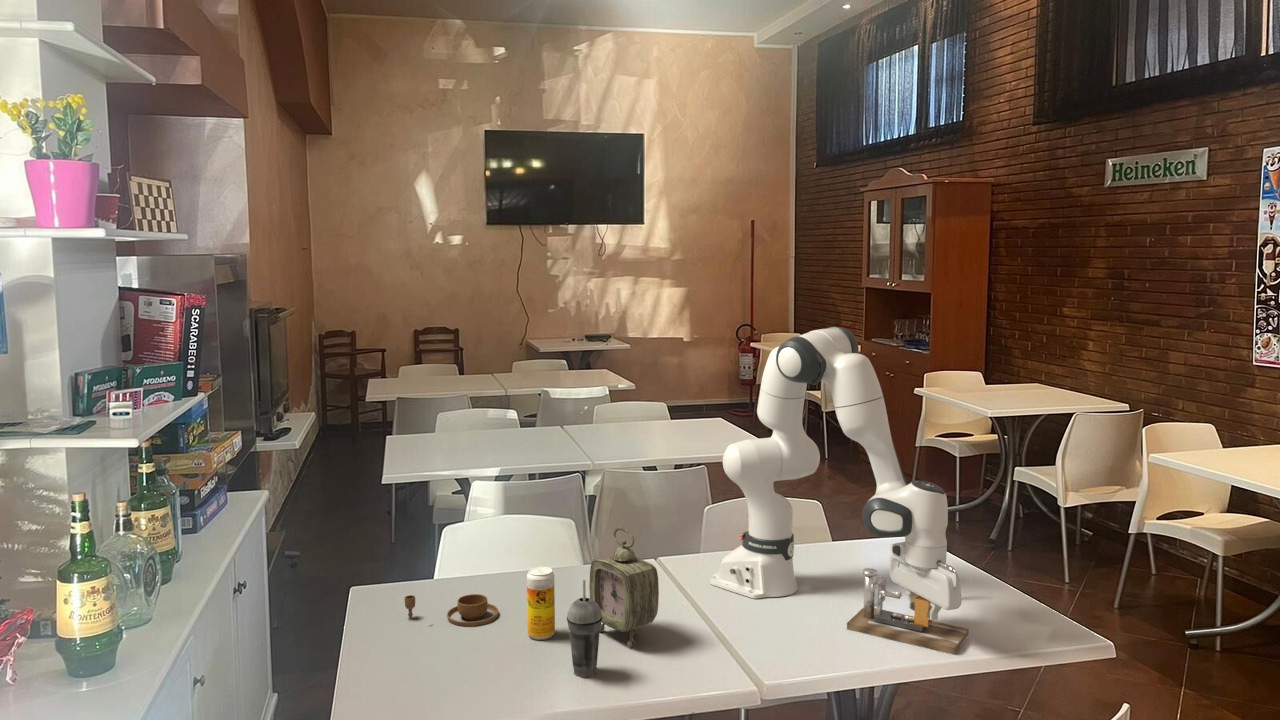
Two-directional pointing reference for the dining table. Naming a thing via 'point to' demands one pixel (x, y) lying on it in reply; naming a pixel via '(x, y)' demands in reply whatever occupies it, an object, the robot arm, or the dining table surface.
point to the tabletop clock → (624, 589)
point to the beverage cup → (584, 634)
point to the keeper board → (913, 633)
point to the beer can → (540, 603)
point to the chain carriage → (901, 620)
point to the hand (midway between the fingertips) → (923, 614)
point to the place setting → (463, 609)
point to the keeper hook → (873, 592)
